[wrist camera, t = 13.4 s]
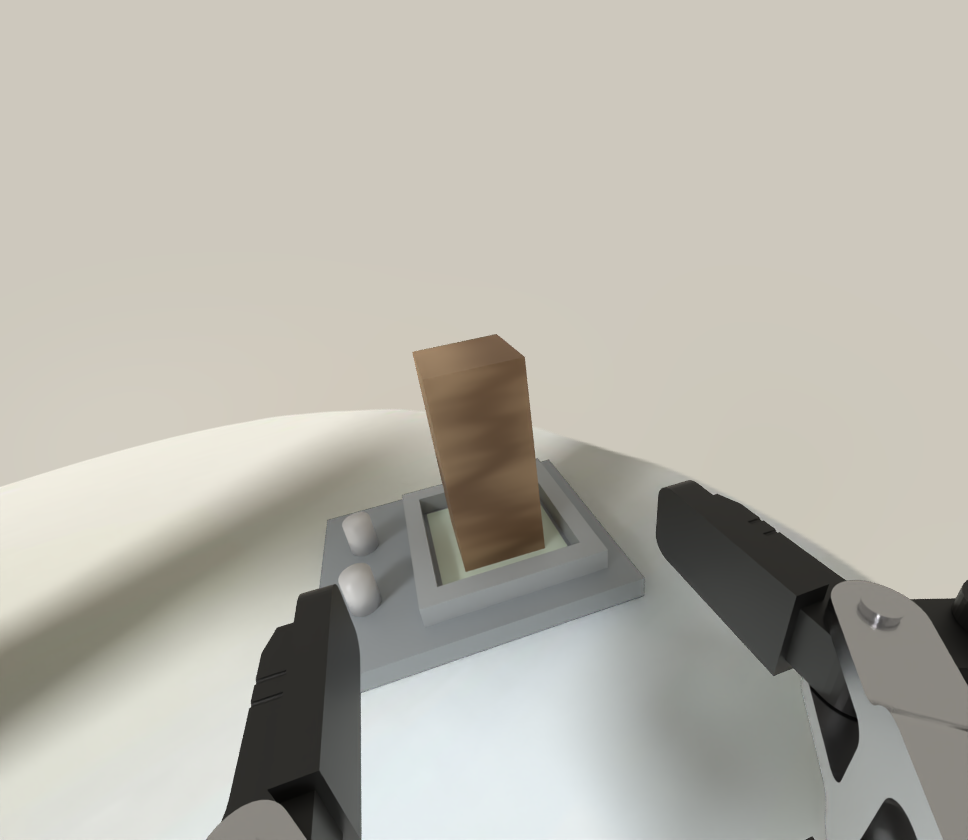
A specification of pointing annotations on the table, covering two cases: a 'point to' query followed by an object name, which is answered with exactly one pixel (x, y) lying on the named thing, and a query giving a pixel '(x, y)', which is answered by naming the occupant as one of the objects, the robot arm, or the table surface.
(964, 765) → the robot arm
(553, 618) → the housing
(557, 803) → the table surface
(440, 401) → the block
